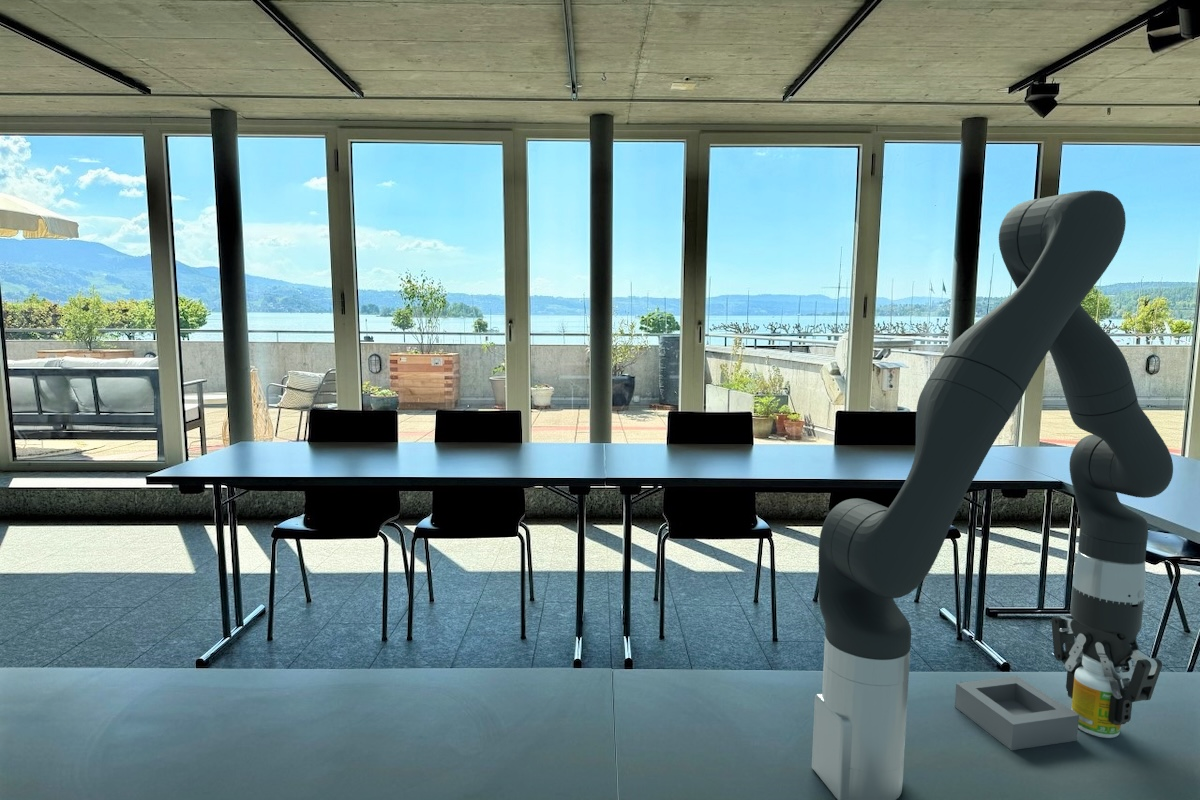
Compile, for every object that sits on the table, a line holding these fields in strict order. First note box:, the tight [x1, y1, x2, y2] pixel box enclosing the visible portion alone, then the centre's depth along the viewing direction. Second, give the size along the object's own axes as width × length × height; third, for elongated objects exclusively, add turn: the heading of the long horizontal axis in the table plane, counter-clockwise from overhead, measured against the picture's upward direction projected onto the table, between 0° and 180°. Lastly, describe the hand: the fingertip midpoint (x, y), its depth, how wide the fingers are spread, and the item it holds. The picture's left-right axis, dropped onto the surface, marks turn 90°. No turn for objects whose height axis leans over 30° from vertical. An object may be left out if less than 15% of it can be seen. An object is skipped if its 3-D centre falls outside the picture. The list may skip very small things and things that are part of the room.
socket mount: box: [954, 675, 1079, 751], centre depth 92 cm, size 10×10×4 cm
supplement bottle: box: [1070, 653, 1124, 739], centre depth 90 cm, size 5×5×10 cm
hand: (1096, 709), depth 91 cm, fingers closed on supplement bottle, 5 cm apart
